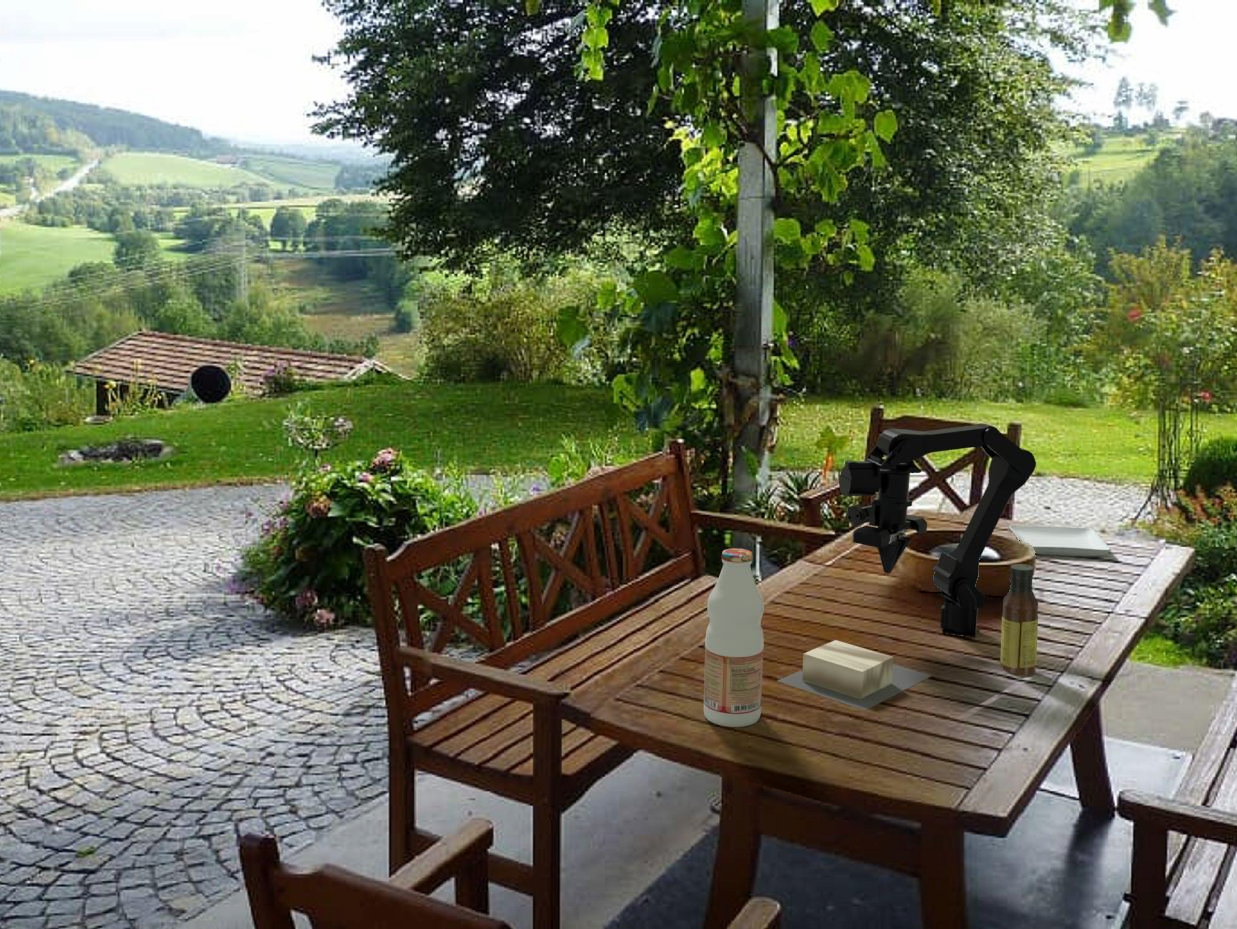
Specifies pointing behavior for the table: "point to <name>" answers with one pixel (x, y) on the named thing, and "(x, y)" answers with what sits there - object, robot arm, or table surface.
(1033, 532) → the salad plate
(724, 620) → the white milk bottle
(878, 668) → the birch block
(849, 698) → the rubber mat
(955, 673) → the table surface
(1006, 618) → the sauce bottle
